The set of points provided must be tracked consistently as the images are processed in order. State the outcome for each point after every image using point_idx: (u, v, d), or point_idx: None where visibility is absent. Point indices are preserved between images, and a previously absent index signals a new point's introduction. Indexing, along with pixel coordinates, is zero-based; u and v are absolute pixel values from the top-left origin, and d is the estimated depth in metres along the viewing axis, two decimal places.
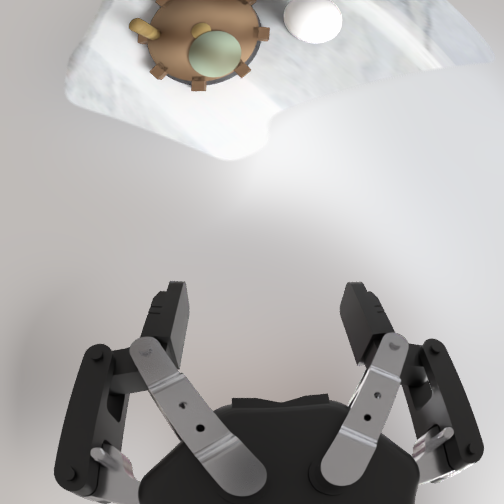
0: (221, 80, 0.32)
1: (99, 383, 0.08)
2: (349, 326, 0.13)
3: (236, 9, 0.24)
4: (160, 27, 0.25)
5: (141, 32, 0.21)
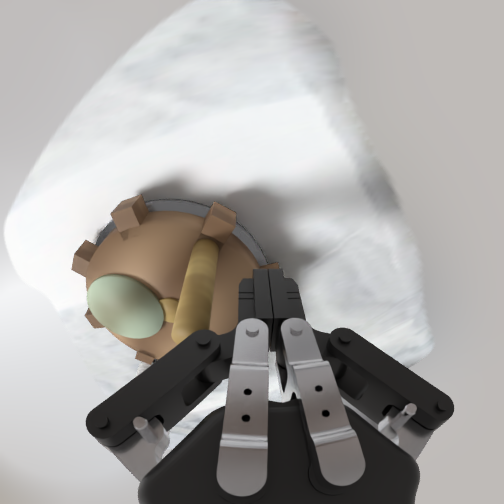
0: None
1: (188, 367, 0.09)
2: None
3: None
4: None
5: (177, 309, 0.13)
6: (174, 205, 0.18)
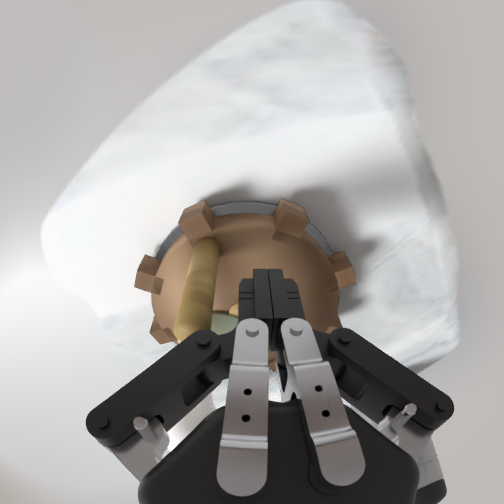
0: None
1: (188, 367, 0.09)
2: None
3: None
4: (226, 251, 0.18)
5: None
6: (257, 207, 0.19)
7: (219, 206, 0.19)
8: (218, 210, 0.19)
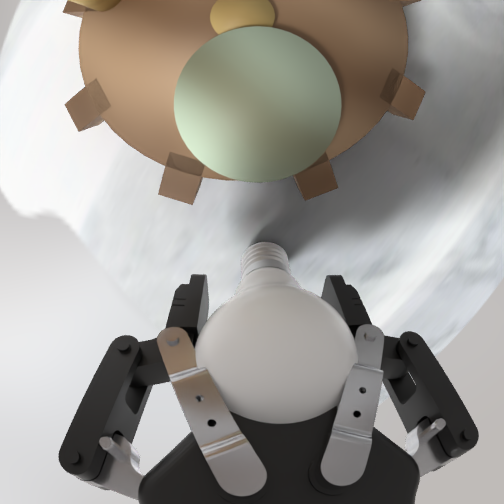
0: None
1: (121, 374, 0.08)
2: None
3: None
4: None
5: None
6: None
7: None
8: None
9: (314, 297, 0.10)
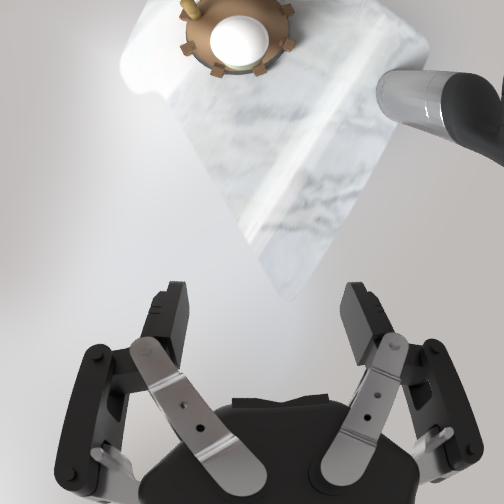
0: None
1: (99, 383, 0.08)
2: (349, 326, 0.13)
3: (273, 16, 0.28)
4: (203, 10, 0.27)
5: (188, 10, 0.23)
6: None
7: None
8: None
9: None
